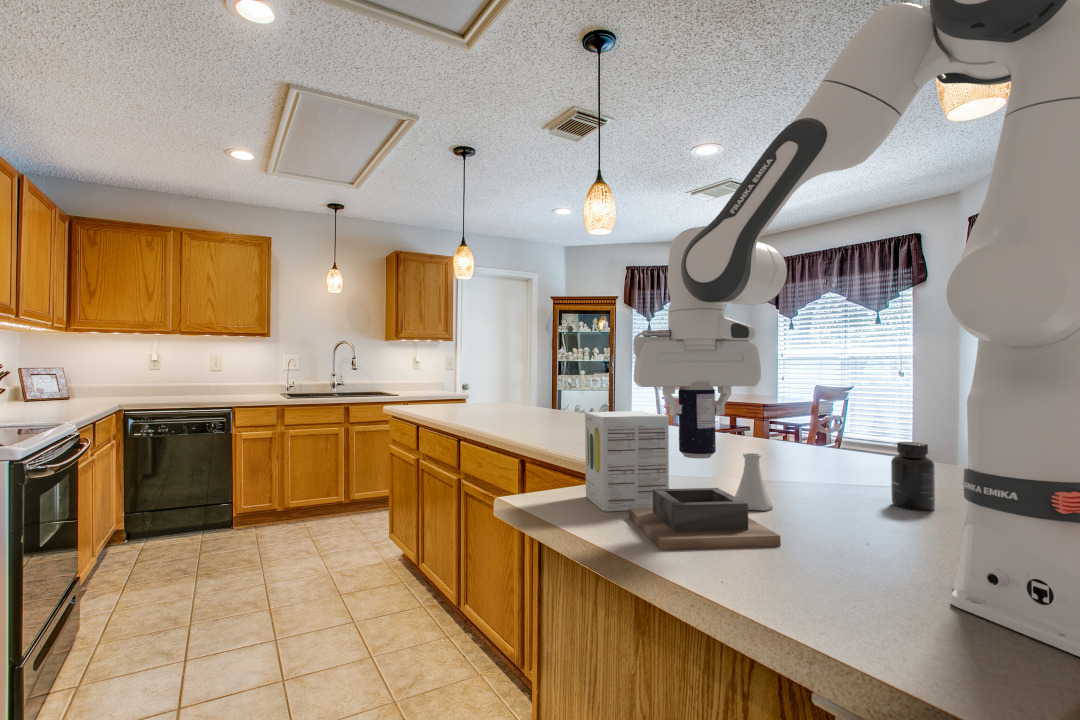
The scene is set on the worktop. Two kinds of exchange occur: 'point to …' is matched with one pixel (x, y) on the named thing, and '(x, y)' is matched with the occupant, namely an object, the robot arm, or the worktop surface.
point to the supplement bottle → (913, 477)
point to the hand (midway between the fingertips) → (697, 415)
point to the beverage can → (697, 421)
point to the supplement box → (625, 458)
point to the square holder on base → (700, 521)
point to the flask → (753, 485)
